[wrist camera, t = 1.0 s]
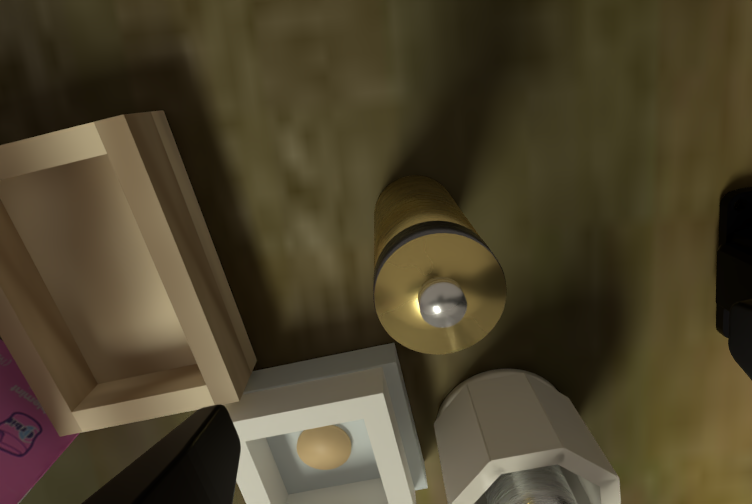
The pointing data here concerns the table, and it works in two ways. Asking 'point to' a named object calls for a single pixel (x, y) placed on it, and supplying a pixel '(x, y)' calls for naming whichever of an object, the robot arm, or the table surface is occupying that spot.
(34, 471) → the gum box
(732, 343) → the robot arm
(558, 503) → the cylinder
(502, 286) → the brass cell
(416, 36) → the table surface
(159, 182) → the trough
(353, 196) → the table surface
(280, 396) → the cradle
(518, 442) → the white octagonal prism
